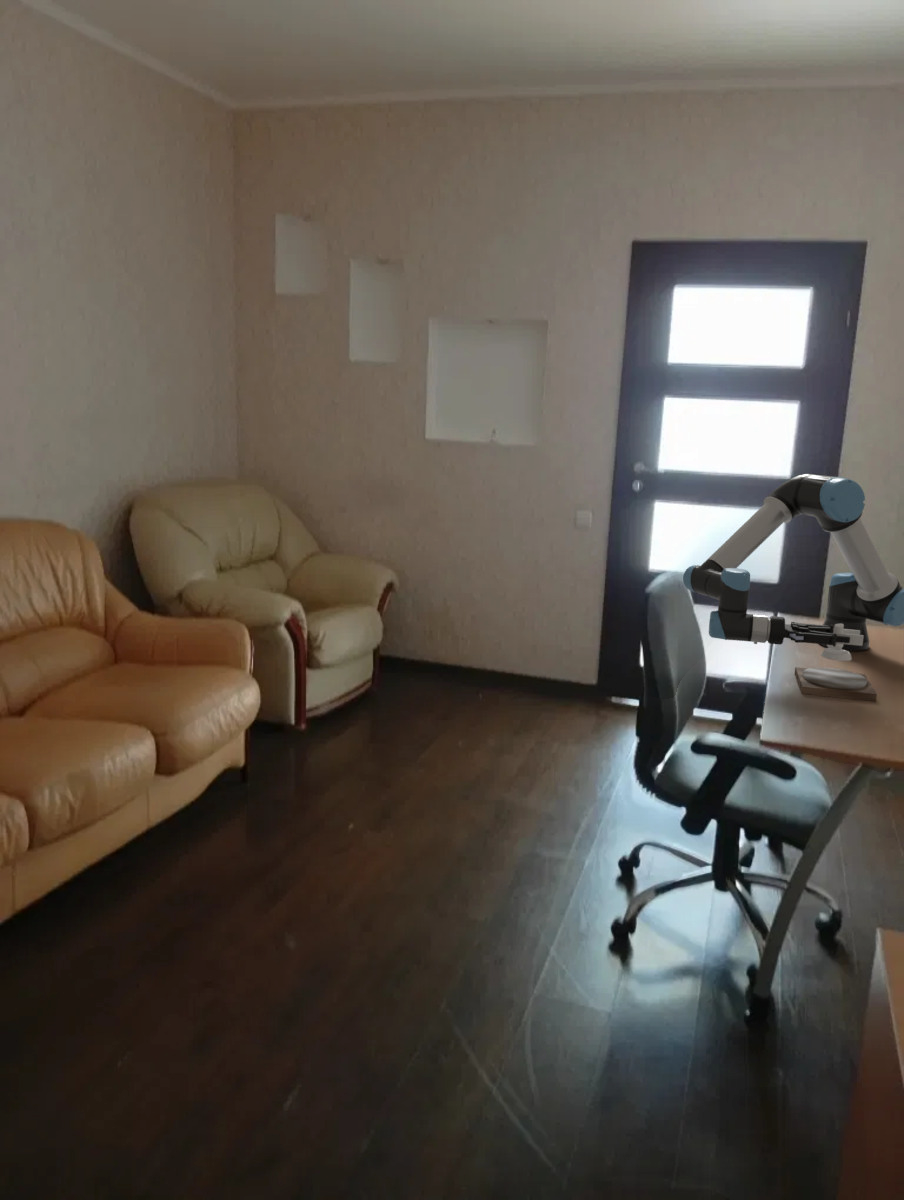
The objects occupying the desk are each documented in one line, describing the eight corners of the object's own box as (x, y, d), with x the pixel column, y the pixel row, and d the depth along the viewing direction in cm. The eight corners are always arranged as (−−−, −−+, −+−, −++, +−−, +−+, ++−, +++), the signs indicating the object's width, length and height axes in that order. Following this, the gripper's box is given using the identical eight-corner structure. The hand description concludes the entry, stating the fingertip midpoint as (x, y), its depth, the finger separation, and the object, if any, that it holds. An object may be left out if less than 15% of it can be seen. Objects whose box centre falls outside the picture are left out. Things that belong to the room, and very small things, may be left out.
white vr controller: (827, 644, 233) (819, 624, 238) (824, 673, 241) (817, 653, 246) (857, 640, 232) (849, 620, 237) (853, 669, 240) (846, 649, 245)
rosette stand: (794, 673, 253) (795, 663, 253) (863, 680, 249) (864, 670, 248) (801, 693, 236) (802, 682, 236) (875, 701, 232) (877, 690, 231)
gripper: (764, 634, 253) (853, 643, 247) (769, 651, 236) (865, 660, 230) (767, 608, 251) (857, 616, 245) (772, 623, 234) (868, 632, 229)
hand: (860, 637), depth 238 cm, fingers closed on white vr controller, 4 cm apart
